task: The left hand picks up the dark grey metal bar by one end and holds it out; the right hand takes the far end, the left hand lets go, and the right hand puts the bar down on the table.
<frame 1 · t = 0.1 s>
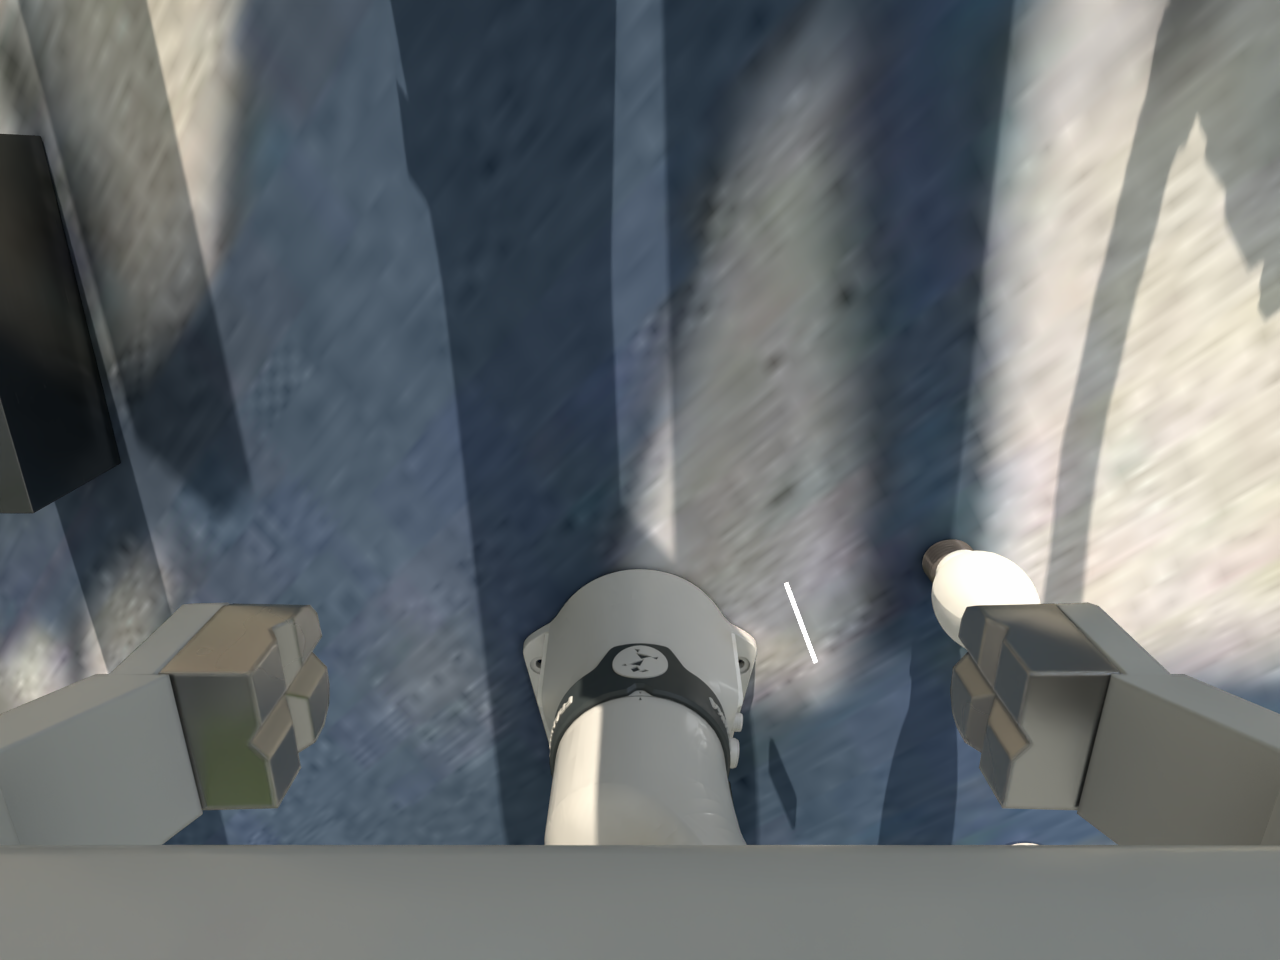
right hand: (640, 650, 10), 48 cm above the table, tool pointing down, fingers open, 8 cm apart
bar: (41, 311, 56), on the table
light bulb: (949, 557, 63), on the table
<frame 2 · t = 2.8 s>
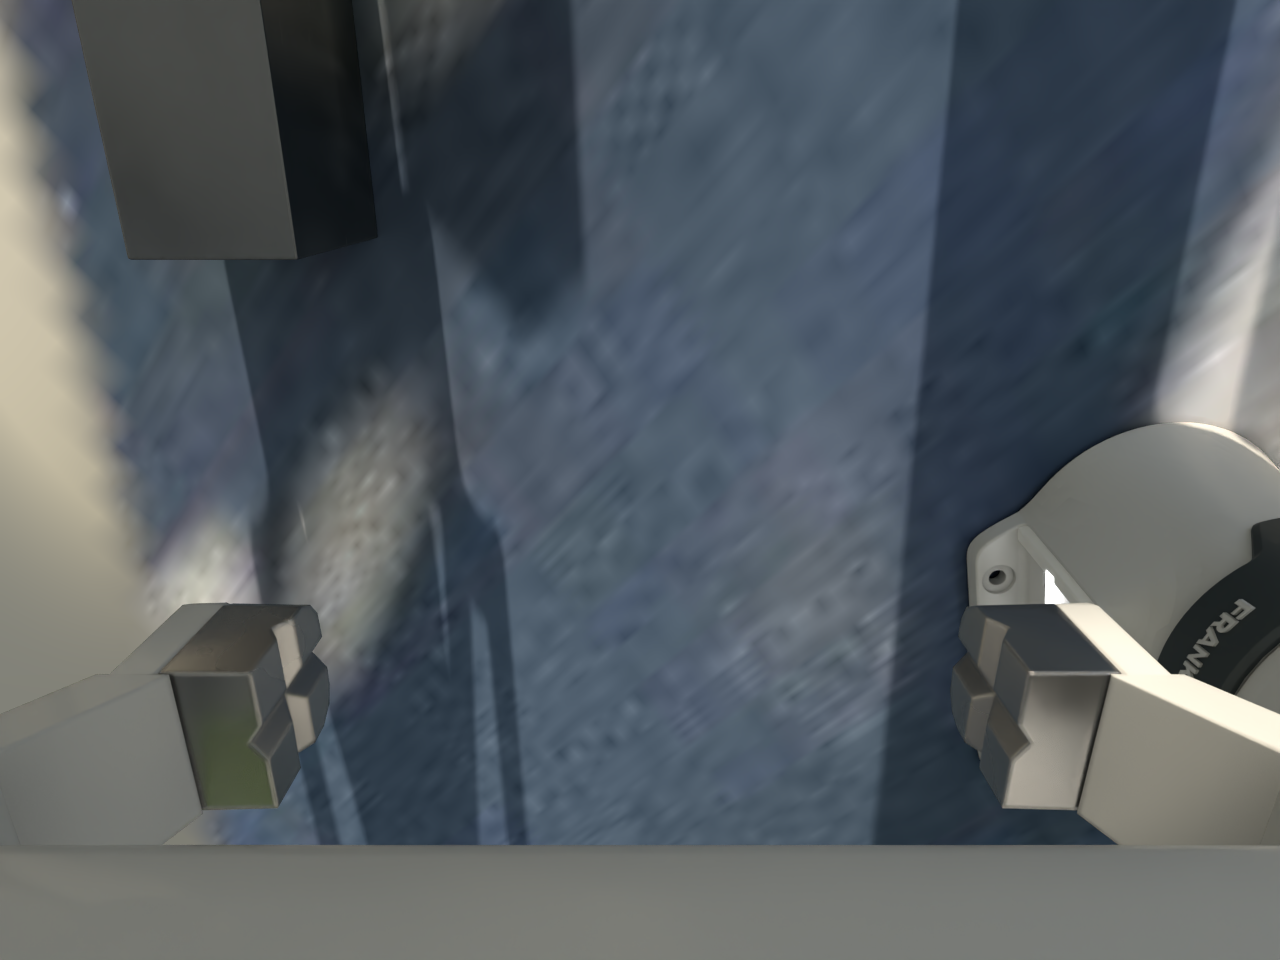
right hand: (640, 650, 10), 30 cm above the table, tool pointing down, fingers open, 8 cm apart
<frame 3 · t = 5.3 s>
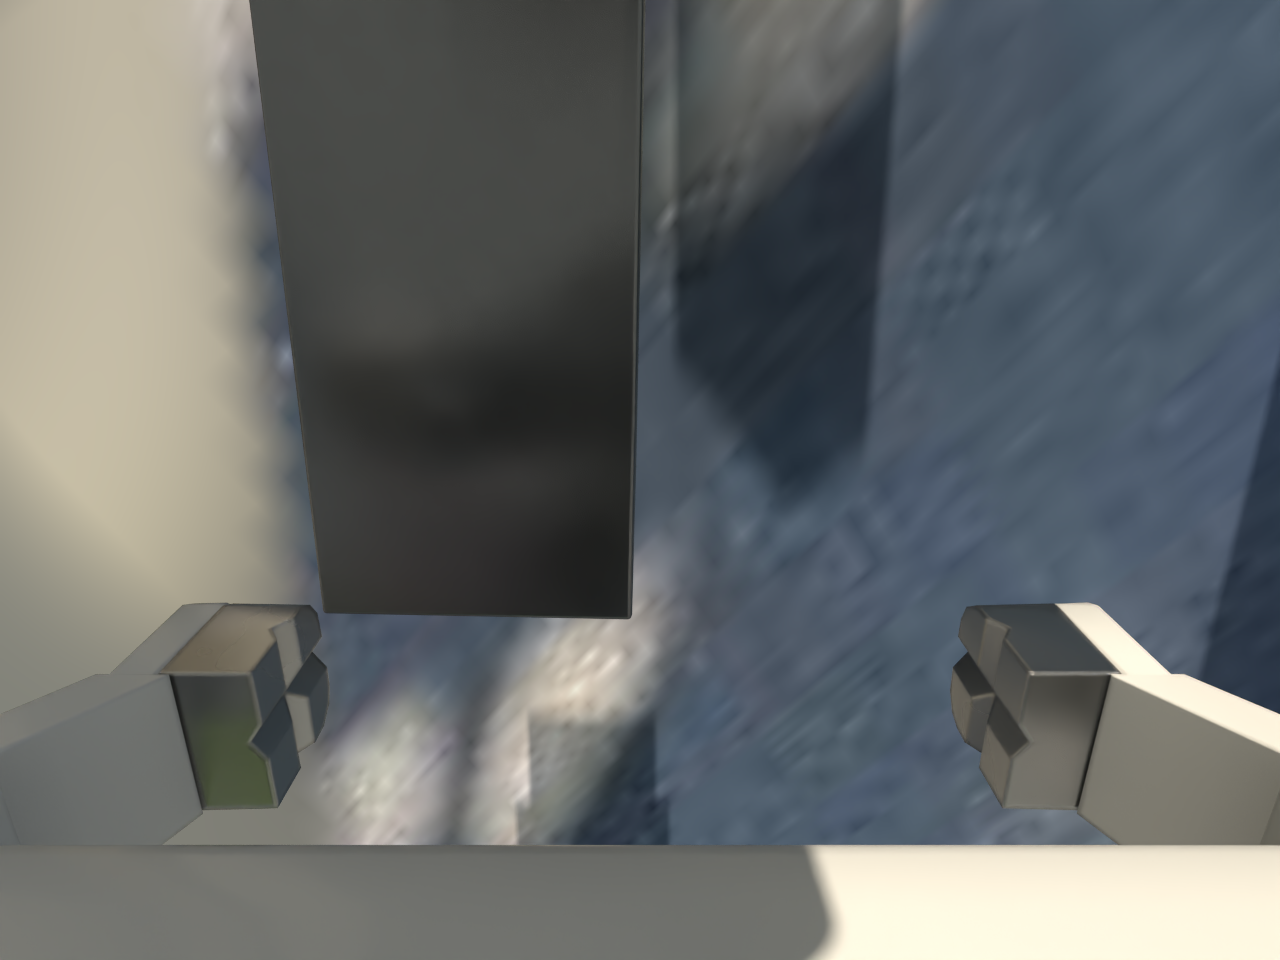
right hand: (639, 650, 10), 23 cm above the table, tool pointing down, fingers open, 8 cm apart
bar: (528, 46, 21), point 9 cm above the table, touching left hand
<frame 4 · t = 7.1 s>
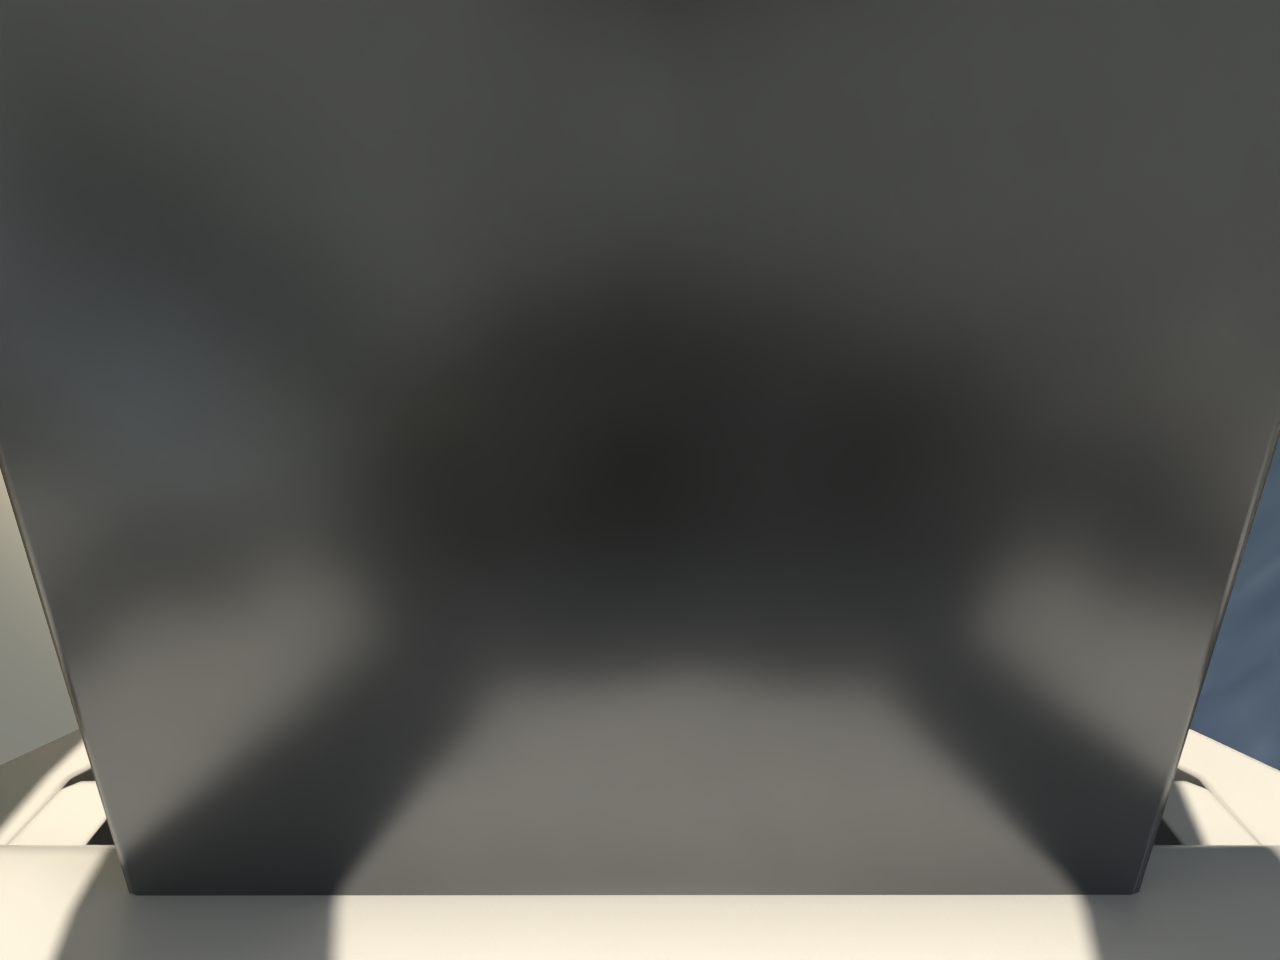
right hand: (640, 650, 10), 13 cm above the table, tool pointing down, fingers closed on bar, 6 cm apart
bar: (638, 69, 12), point 9 cm above the table, touching right hand, left hand
when the left hand's fingers open (9 cm above the table, at t = 8.0 s): bar stays where it is, held by the right hand.
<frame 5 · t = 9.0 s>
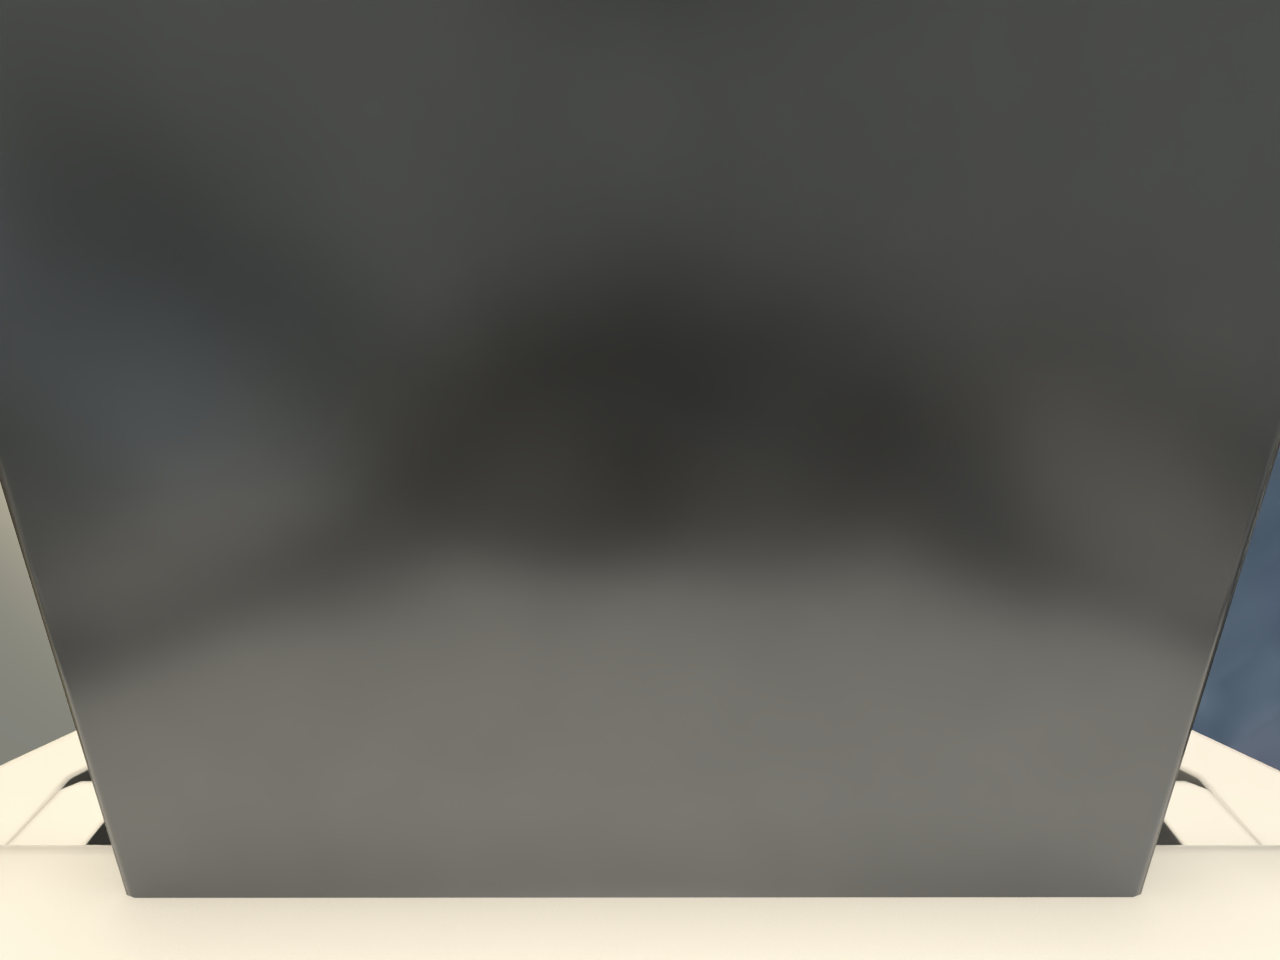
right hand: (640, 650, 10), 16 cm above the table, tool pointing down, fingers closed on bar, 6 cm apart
bar: (638, 70, 12), point 12 cm above the table, touching right hand
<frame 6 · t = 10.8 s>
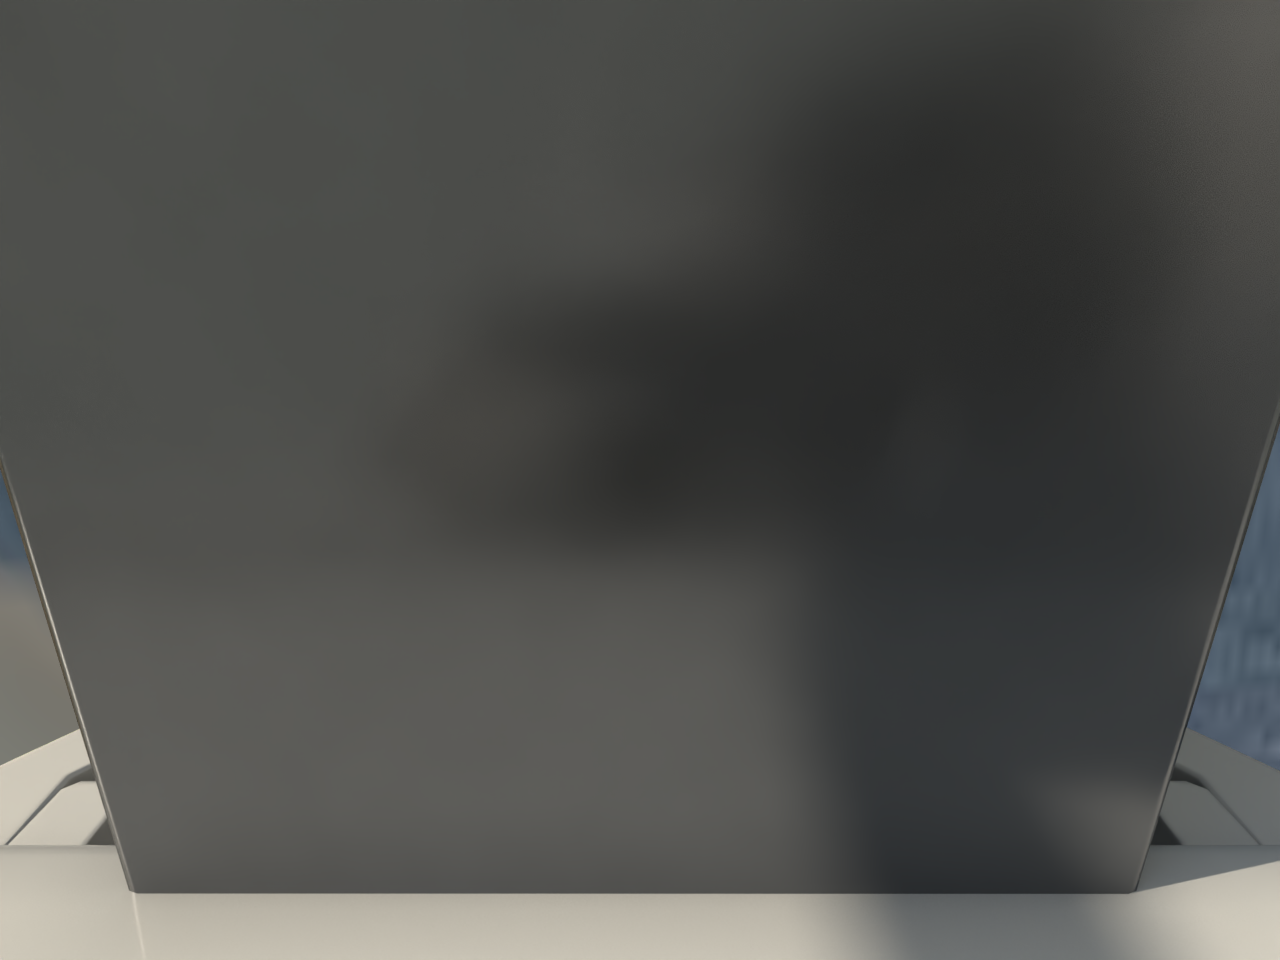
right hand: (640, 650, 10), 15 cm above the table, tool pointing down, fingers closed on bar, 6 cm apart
bar: (638, 70, 12), point 11 cm above the table, touching right hand
when the right hand's fingers open (5 cm above the table, at t = 12.6 s): bar stays where it is, on the table.
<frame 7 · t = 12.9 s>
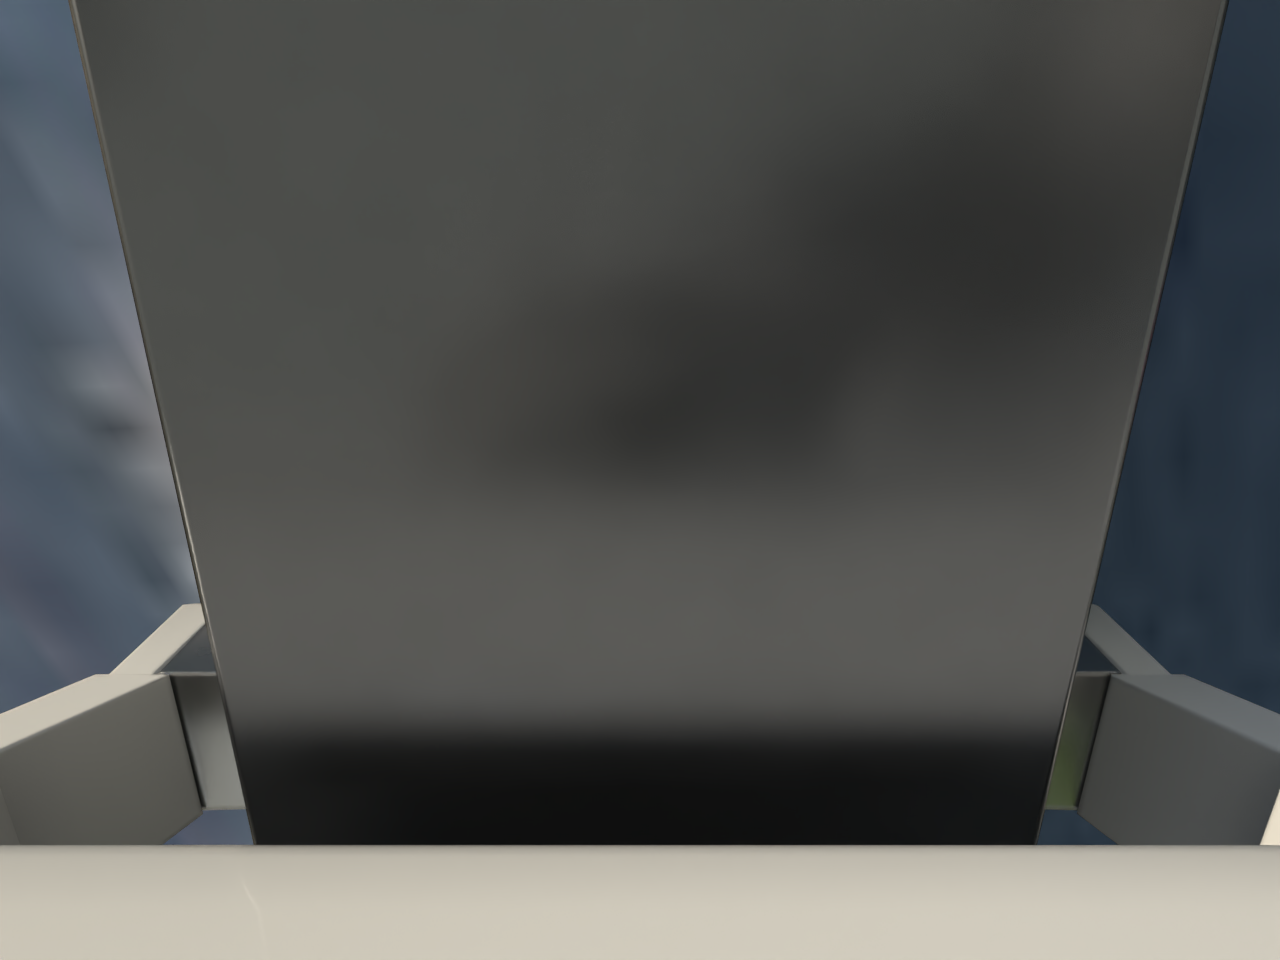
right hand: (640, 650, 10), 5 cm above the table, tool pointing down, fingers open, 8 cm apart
bar: (642, 106, 13), on the table
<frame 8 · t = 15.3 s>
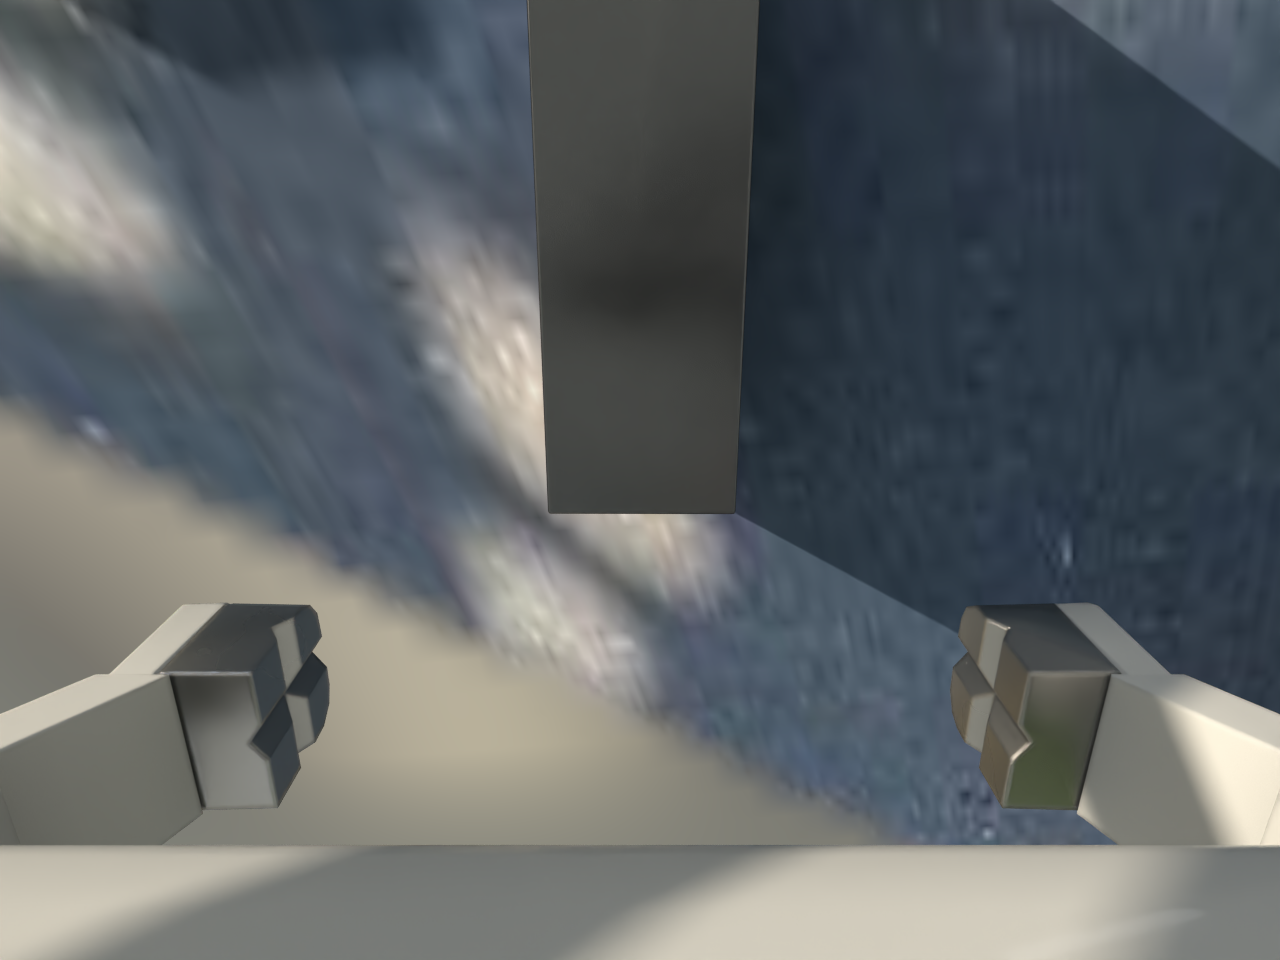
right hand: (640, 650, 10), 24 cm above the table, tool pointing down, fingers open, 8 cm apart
bar: (642, 139, 30), on the table
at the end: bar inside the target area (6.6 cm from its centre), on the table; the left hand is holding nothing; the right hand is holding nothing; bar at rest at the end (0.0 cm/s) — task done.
